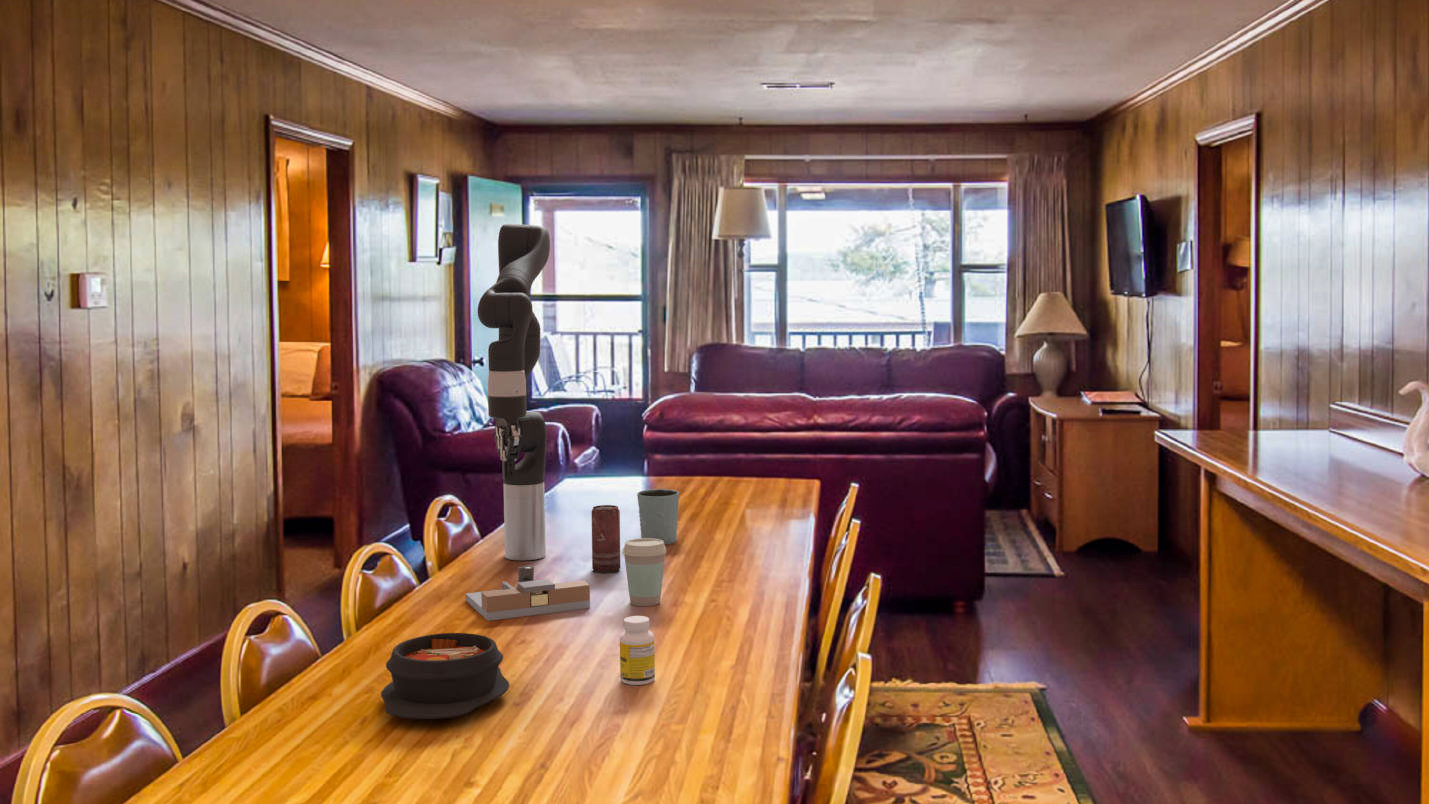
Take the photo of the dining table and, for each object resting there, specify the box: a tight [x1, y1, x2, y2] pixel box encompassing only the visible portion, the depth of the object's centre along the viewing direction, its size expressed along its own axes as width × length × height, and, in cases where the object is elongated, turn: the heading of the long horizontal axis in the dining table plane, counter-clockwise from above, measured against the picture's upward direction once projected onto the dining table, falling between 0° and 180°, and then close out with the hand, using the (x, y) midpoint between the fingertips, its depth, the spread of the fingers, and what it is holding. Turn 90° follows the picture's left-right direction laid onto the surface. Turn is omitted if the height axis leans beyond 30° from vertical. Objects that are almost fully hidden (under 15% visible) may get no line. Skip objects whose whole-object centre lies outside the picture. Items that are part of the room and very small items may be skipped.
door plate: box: [465, 578, 591, 622], centre depth 233 cm, size 16×20×6 cm
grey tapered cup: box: [636, 488, 680, 545], centre depth 291 cm, size 10×10×12 cm
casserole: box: [380, 632, 510, 720], centre depth 178 cm, size 25×19×8 cm
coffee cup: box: [622, 537, 667, 607], centre depth 234 cm, size 8×8×12 cm
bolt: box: [515, 565, 548, 606], centre depth 230 cm, size 10×3×6 cm, turn 26°
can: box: [591, 504, 621, 574], centre depth 261 cm, size 6×6×14 cm
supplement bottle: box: [619, 615, 656, 686], centre depth 187 cm, size 5×5×10 cm
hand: (508, 479), depth 241 cm, fingers closed
